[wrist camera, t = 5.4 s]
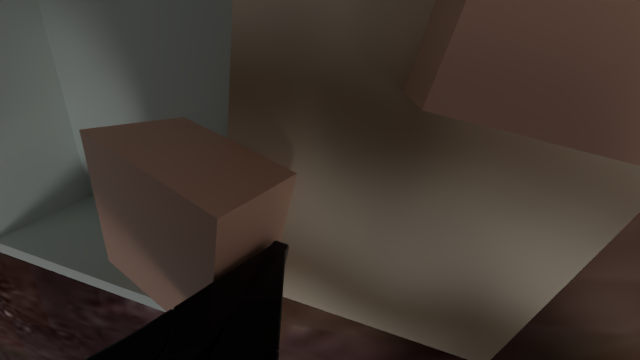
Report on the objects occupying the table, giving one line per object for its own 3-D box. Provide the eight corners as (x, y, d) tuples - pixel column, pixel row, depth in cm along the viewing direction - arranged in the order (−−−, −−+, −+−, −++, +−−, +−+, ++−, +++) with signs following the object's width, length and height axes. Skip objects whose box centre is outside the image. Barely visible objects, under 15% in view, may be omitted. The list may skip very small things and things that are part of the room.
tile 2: (271, 280, 10) (208, 349, 7) (185, 221, 11) (108, 261, 9) (297, 173, 7) (217, 218, 5) (183, 117, 9) (79, 129, 6)
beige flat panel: (465, 311, 12) (484, 365, 10) (247, 241, 14) (222, 275, 11) (833, -157, 5) (1180, -324, 3) (293, -230, 6) (247, -394, 4)
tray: (238, 245, 14) (182, 318, 10) (92, 197, 15) (-14, 246, 11) (277, -267, 6) (83, -913, 2) (-41, -306, 7) (-618, -818, 3)
